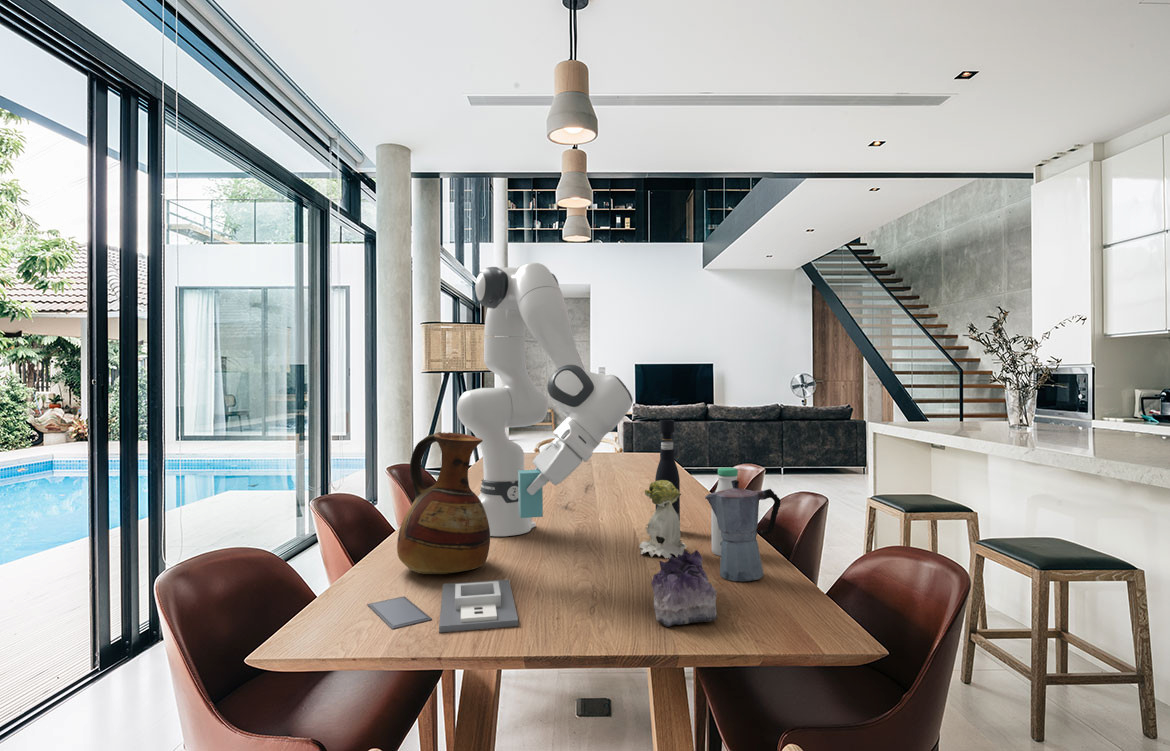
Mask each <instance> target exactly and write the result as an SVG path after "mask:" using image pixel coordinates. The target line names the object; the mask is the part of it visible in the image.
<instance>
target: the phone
mask: <svg viewBox="0 0 1170 751" xmlns="http://www.w3.org/2000/svg"><path fill="white" fill-rule="evenodd" d="M366 605H367V607H368V608H369V609H370V610H371V611H372V612H373V613H374V614H376V616H378V618H379V619H381V620H382V622H384V624H386V625H387V626H388V628H390V629H391V630H397V629H400V628H406V627H409V626H414V625H419V624H421V623H425V622H431V621H433V618H432V617H431V616H429V615H428V614H427V613H426V612H424V610H422V609H421V608H420V607H418V605H416V604H415V603H413V602H412V601H411V600H410V599H408V597H406V596H404V595H403V596H399V597H394V598H390V599H389V598H388V599H386V600H380V601H376V602H371V603H367V604H366Z"/></svg>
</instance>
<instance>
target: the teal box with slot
mask: <svg viewBox="0 0 1170 751" xmlns="http://www.w3.org/2000/svg"><path fill="white" fill-rule="evenodd" d="M540 473H541V472H540V470H534V469H524V470H518V503H519V515H520V518H543V517H544V515H543V514H544V511H543V508H544V507H543V503H544V502H543V501H544V500H543V498H544V496H543V493H544V492H543V487H542V488H540V489H539V490H538V491H537V492H536V493H535V494H534V495H531V494H530V493H529V492H527V490H526V488H527V487H528V486H529V484H530V483H532V482H533V481H534V480H535V479H536V478H537V477H538V475H539V474H540Z"/></svg>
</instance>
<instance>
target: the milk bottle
mask: <svg viewBox="0 0 1170 751" xmlns="http://www.w3.org/2000/svg"><path fill="white" fill-rule="evenodd" d="M738 474H739V473H738V469H737V468H735V467H730V466H729V467H718V469H717V478H718V482H717V486H716V489H715V490H714V492H718V491H722V490H726V489H731V488H733V486H732V483H731V481H733V480H737V479H738ZM737 481H738V480H737ZM710 514H711V516H710V517H711V520H710V521H711V522H710V523H711V524H710V525H711V532H710V534H711V536H710V537H711V539H710V540H711V552H712V554H713V555H716V556H720V557H721V545H720V542H721V541H722V537H721V530H719V527H718V522H717V517H716V515H715V513H714V511H713V509H712V507H711V513H710Z"/></svg>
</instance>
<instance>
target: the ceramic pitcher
mask: <svg viewBox="0 0 1170 751" xmlns="http://www.w3.org/2000/svg"><path fill="white" fill-rule="evenodd" d="M482 441H483V440H482V439H479V438H477V437H476V436H473V435H470V434H469V435H468V434H466V433H458V432H450V431H449V432H445V431H443V432H441V431H439V432H435V433H433V434H431V435H430V434H429V435H427V436H426V437H423V439H421V440H420V441H418V443H417V444H416V445H415V446H414V449H413V452H412V454H411V457H410V461H409V474H410V479H411V482H412V486H413V490H414V493H415V494H414V496H415V497H414V501H413V502H412V503H411V505H410V506H409V508H408V510H407V511H406V513H405V515H404V517H403V519H402V522H401V525H400V527H399V531H398V535H397V542H396V551H397V556H398V559H399V561H401V563H402V564H403V565H404V566H406V568H408V569H409V570H411V571H412V572H415V573H419V574H424V575H448V574H453V573H454V574H455V573H462V572H465V571H467V572H468V571H471V570H472V571H473V570H475V569H478V568H481V567H482V566H484V565H485V563H486V561H487V559H488V556H489V552H490V545H491V536H490V528H489V523H488V519H487V515H486V512H485V509H484V507H483V505H482V503H481V501H480V499H479V498H478V495H477V494H476V493H475V492H474V491H473V490H472V489H471V488H470V484H469V467H470V465H471V463H470V462H471V457H472V455H473V452H474V450H475V449H476V448H477V447H478V446H480V443H481V442H482ZM436 442H437V443H438V447H439V448H440V452H441V466H440V470H439V474H438V477H437V479H436V482H434V484H433V485H432V486H429V487H427V486H426V485H425V482H424V479H423V474H422V473H423V472H422V462H423V458H424V455H425V453H426V451H427V450H428V448H429V446H431V445H432V444H434V443H436Z"/></svg>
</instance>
